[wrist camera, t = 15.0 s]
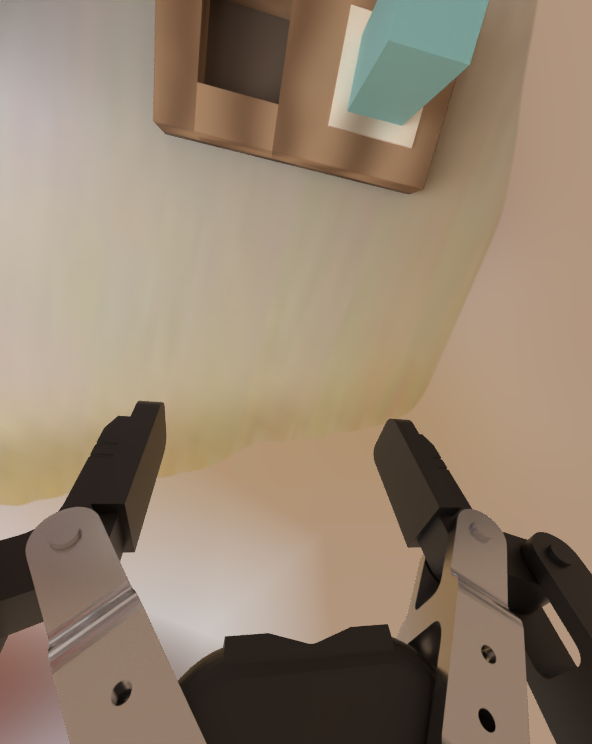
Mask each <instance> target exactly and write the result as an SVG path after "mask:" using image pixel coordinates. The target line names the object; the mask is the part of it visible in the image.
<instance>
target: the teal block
mask: <svg viewBox="0 0 592 744" xmlns="http://www.w3.org/2000/svg"><path fill="white" fill-rule="evenodd" d="M488 3H489V0H377V2H376V4H375V7H374V9H373V11H372V13H371V16H370V18H369V20H368V22H367V25H366V27H365V29H364V31H363V34H362V37H361V43H360V48H359V53H358V58H357V63H356V68H355V73H354V78H353V84H352V89H351V94H350V99H349V104H348V109H347V111H348V112H351V113H355V114H359V115H363V116H367V117H370V118H374V119H378V120H382V121H385V122H389V123H393V124H397V125H400V126H402V125H403V124H404V123H406V122H407V121H408V120H409V119H410V118H411V117H412V116H413V115H414V114H416V113H417V112H418V111H419V110H420V109H421V108H422V107H423V106H425V105H426V104H427V103H428V102H429V101H430V100H431V99H432V98H433V97H435V96H436V95H437V94H438V93H439V92H440V91H441V90H442V89H444V88H445V87H446V86H447V85H448V84H449V83H450V82H451V81H453V80H454V79H455V78H456V77H457V76H458V75H459V74H460V73H461V72H463V71H464V70H465V69H466V68H467V67H468V66H469V65H470V63H471V59H472V56H473V53H474V49H475V46H476V43H477V39H478V36H479V33H480V29H481V26H482V23H483V19H484V16H485V13H486V9H487V6H488Z"/></svg>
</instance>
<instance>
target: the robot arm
mask: <svg viewBox="0 0 592 744" xmlns="http://www.w3.org/2000/svg"><path fill="white" fill-rule="evenodd" d="M165 445H166V422H165V406H164V403H163V402H149V401H138V402H137V404H136V406H135V408H134V410H133V412H132V415H131V417H128V416H118V417H116V418H115V419H114V420H113V421H112V422H111V423H109V424H108V425H107V426H106V427H105V428H104V430H103V431H102V433H101V435H100V437H99V439H98V441H97V444H96V445H95V446H94V448H93V450H92V452H91V456H90V457H89V458H88V460H87V461H86V463H85V465H84V467H83V469H82V471H81V473H80V475H79V476H78V478H77V480H76V482H75V484H74V486H73V488H72V489H71V491H70V493H69V495H68V497H67V499H66V501H65V503H64V504H63V506H62V507H61V509H60V510H59V511H58V512H56V513H55V514H53V515H51V516H49V517H48V518H46V519H45V520H44V521H43V522H41V523H40V524H39V525H38V526H37V527H36V528H35V529H34V530H32V531H29V532H27V533H25V534H22V535H19V536H15V537H12V538H8V539H4V540H1V541H0V652H1V650H2V647H3V646H4V643H5V641H6V639H7V637H8V635H10V634H12V633H15V632H18V631H20V630H23V629H25V628H28V627H31V626H33V625H36V624H38V623H41V622H44V624H45V628H46V631H47V635H48V639H49V646H50V647H49V649H48V656H49V662H50V667H51V672H52V675H53V679H54V683H55V687H56V691H57V695H58V698H59V702H60V706H61V710H62V714H63V718H64V722H65V725H66V729H67V733H68V737H69V741H70V744H530V737H529V718H528V700H527V682H528V684H529V686H530V689H531V691H532V693H533V695H534V697H535V699H536V701H537V703H538V705H539V708H540V709H541V712H542V714H543V716H544V718H545V720H546V722H547V724H548V727H549V729H550V731H551V733H552V735H553V737H554V739H555V741H556V743H557V744H592V574H591V573H590V571H589V570H588V569H587V568H586V566H585V565H584V563H583V562H582V561H581V560H580V558H579V557H578V555H577V554H576V553H575V552H574V551H573V550H572V549H571V548H570V547H569V546H568V545H567V544H566V543H564V542H563V541H562V540H560V539H558V538H557V537H555V536H553V535H551V534H548V533H544V532H538V533H536V534H534V535H533V536H532V537H531V538H530V539H528V540H526V539H523V538H520V537H517V536H513V535H511V534H508V533H505V532H502V531H501V529H500V528H499V527H498V525H497V524H496V523H495V522H494V521H493V520H492V519H491V518H489V517H488V516H487V515H485V514H483V513H481V512H479V511H477V510H473V509H472V508H471V506H470V505H469V503H468V502H467V500H466V498H465V497H464V495H463V493H462V492H461V490H460V488H459V487H458V485H457V483H456V482H455V480H454V478H453V477H452V475H451V473H450V472H449V470H447V467H446V465H445V463H444V462H443V460H441V457H440V455H439V453H438V452H437V450H436V449H435V447H434V445H433V444H432V443H430V441H429V440H427V439H426V438H425V437H424V436H423V435H421V434H419V433H418V431H417V430H416V428H415V426H414V424H413V423H412V422H411V421H410V420H401V419H389V420H388V421H387V422H386V424H385V426H384V428H383V431H382V432H381V434H380V436H379V439H378V441H377V442H376V445H375V447H374V461H375V464H376V466H377V469H378V471H379V474H380V476H381V479H382V481H383V484H384V487H385V489H386V492H387V495H388V497H389V500H390V502H391V505H392V507H393V510H394V513H395V515H396V518H397V520H398V523H399V525H400V528H401V531H402V533H403V536H404V539H405V541H406V544H407V547H421V548H422V551H423V553H424V554H423V555H422V557H421V559H420V562H419V567H418V571H417V576H416V580H415V584H414V589H413V593H412V597H411V602H410V606H409V610H408V614H407V616H406V619H405V621H404V622H403V624H402V626H401V628H400V631H399V633H398V636H397V639H396V638H393V637H391V634H390V630H389V627H388V625H387V624H385V625H372V626H359V627H350V628H348V629H346V630H344V631H341V632H340V633H337V634H335V635H333V636H331V637H329V638H326V639H324V640H322V641H320V642H318V643H315V644H307V643H303V642H300V641H295V640H292V639H288V638H284V637H280V636H277V635H273V634H269V633H266V634H254V635H240V636H227V637H225V640H224V646H223V648H221V649H219V650H217V651H214V652H212V653H211V654H209V655H207V656H206V657H204V658H202V659H201V660H200V661H198V662H197V663H196V664H195V665H193V666H192V667H191V668H190V669H189V670H188V671H187V672H186V673H185V674H184V675H183V676H182V677H181V678H180V679H179V680H178V681H177V679H176V677H175V674H174V672H173V670H172V668H171V666H170V664H169V661H168V660H167V657H166V655H165V653H164V651H163V648H162V646H161V644H160V642H159V640H158V638H157V636H156V633H155V631H154V629H153V627H152V625H151V622H150V620H149V618H148V616H147V614H146V612H145V609H144V607H143V605H142V603H141V601H140V599H139V597H138V595H137V593H136V592H135V590H134V589H133V588H132V587H131V585H130V583H129V581H128V578H127V576H126V574H125V572H124V570H123V568H122V565H121V563H120V559H121V556H122V553H123V552H135V549H136V546H137V542H138V539H139V536H140V532H141V529H142V526H143V522H144V519H145V515H146V512H147V508H148V505H149V502H150V498H151V495H152V492H153V488H154V485H155V481H156V478H157V475H158V471H159V468H160V465H161V461H162V458H163V454H164V450H165ZM549 602H550V603H551V604H552V606H553V608H554V609H555V611H556V613H557V614H558V616H559V617H560V619H561V621H562V622H563V624H564V626H565V627H566V629H567V631H568V632H569V634H570V635H571V637H572V639H573V640H574V642H575V644H576V646H577V647H578V650H579V653H580V657H581V663H580V666H579V667H577V666H576V665H575V663H574V661H573V660H572V658H571V656H570V655H569V653H568V651H567V649H566V648H565V646H564V644H563V642H562V641H561V639H560V638H559V636H558V634H557V632H556V631H555V629H554V627H553V626H552V624H551V622H550V620H549V618H548V617H547V615H546V613H545V612H544V610H543V608H542V607H543V606H544V605H546V604H548V603H549ZM526 680H527V681H526Z"/></svg>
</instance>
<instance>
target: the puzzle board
mask: <svg viewBox="0 0 592 744" xmlns="http://www.w3.org/2000/svg"><path fill="white" fill-rule="evenodd" d="M376 2H377V0H156V10H155V58H154V107H153V121H154V122H155V123H156V124H157V125H158V126H159V128H160V129H161V130H162V131H163V132H164V133H165V134H168V135H172V136H176V137H180V138H184V139H188V140H192V141H196V142H200V143H204V144H208V145H212V146H216V147H220V148H224V149H228V150H232V151H236V152H240V153H244V154H248V155H252V156H256V157H261V158H265V159H269V160H273V161H277V162H281V163H285V164H289V165H293V166H297V167H301V168H305V169H309V170H313V171H317V172H321V173H325V174H329V175H333V176H337V177H341V178H345V179H349V180H353V181H357V182H361V183H365V184H369V185H373V186H377V187H381V188H386V189H390V190H394V191H398V192H402V193H406V194H411V193H413V192H416V191H419V190H422V189H423V188H424V184H425V181H426V178H427V174H428V171H429V168H430V164H431V161H432V158H433V154H434V151H435V148H436V144H437V141H438V138H439V134H440V131H441V128H442V124H443V121H444V118H445V114H446V111H447V108H448V104H449V101H450V98H451V94H452V91H453V88H454V84H455V81H456V78H457V77H456V78H455V79H454V80H453V81H451V82H450V83H449V84H448V85H447V86H446V87H445V88H444V89H442V90H441V91H440V92H439V93H438V94H437V95H436V96H435V97H433V98H432V99H431V100H430V101H429V102H428V103H427V104H426V105H425V106H423V107H422V108H421V109H420V110H419V111H418V112H417V113H416V114H414V115H413V116H412V117H411V118H410V119H409V120H408V121H407V122H406V123H404V124H403V125H402V126H400V125H397V124H393V123H389V122H385V121H382V120H378V119H374V118H370V117H367V116H363V115H359V114H355V113H351V112H348V111H347V109H348V104H349V99H350V94H351V89H352V84H353V78H354V73H355V68H356V63H357V58H358V53H359V48H360V43H361V37H362V34H363V31H364V29H365V27H366V25H367V22H368V20H369V18H370V16H371V13H372V11H373V9H374V7H375V4H376Z"/></svg>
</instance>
